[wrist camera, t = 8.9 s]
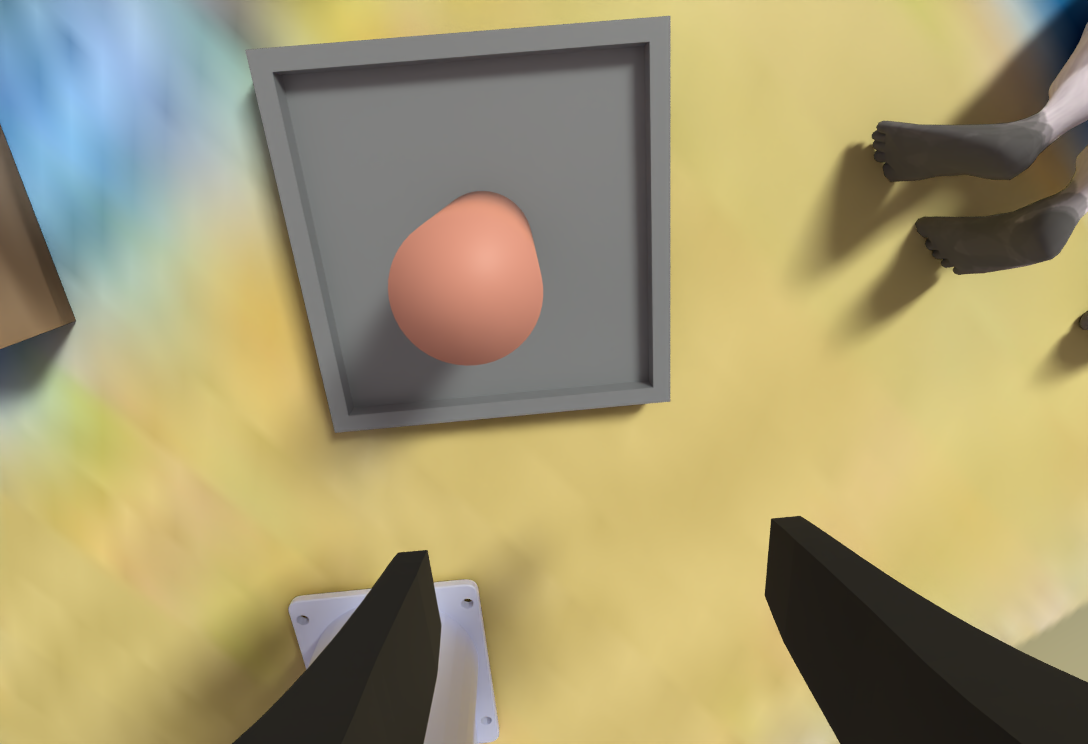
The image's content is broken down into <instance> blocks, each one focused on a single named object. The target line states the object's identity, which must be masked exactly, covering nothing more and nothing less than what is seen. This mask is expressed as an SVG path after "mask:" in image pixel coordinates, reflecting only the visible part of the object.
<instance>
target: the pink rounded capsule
mask: <svg viewBox="0 0 1088 744" xmlns="http://www.w3.org/2000/svg"><path fill="white" fill-rule="evenodd" d="M388 295H389V302H390V306H391V310H392V312H393V315H394V317H395V320H396V322H397V323H398V325H399V327H400V329H401V330H402V331H403V333H404V334H405V336H406V337H407V338H408V339H409V340H410V341H411V342H412V343H413V344H414V345H415V346H416V347H418V348H419V349H420V350H422V351H423V352H425V353H426V354H428V355H429V356H432V357H434V358H436V359H438V360H441V361H444V362H446V363H451V364H455V365H465V366H469V365H481V364H486V363H490V362H493V361H496V360H498V359H501V358H503V357H505V356H507V355H508V354H510V353H512V352H513V351H514V350H515V349H517V348H518V347H519V346H520V345H521V344H522V343H523V342H524V341H525V340H526V339H527V338H528V336H529V335H530V334H531V332H532V330H533V329H534V327H535V325H536V323H537V321H538V318H539V316H540V312H541V308H542V302H543V282H542V276H541V272H540V267H539V263H538V258H537V254H536V250H535V245H534V241H533V237H532V232H531V228H530V225H529V223H528V220H527V218H526V216H525V215H524V213H523V212H522V210H521V209H520V208H519V207H518V206H517V205H516V204H515V203H514V202H513V201H511V200H510V199H508V198H507V197H505V196H503V195H500V194H498V193H494V192H489V191H475V192H470V193H467V194H464V195H462V196H460V197H458V198H457V199H455V200H454V201H452V202H451V203H450V204H448V205H447V206H446V207H444V208H443V209H442V210H441V211H439V212H438V213H437V214H435V215H434V216H433V217H431V218H430V219H429V220H427V221H426V222H425V223H424V224H422V225H421V226H420V227H418V228H417V229H416V230H415V231H413V232H412V233H411V234H410V235H409V236H408V237H407V238H406V239H405V241H404V242H403V243H402V244H401V246H400V247H399V249H398V251H397V252H396V255H395V257H394V259H393V261H392V264H391V268H390V272H389V278H388Z"/></svg>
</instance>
